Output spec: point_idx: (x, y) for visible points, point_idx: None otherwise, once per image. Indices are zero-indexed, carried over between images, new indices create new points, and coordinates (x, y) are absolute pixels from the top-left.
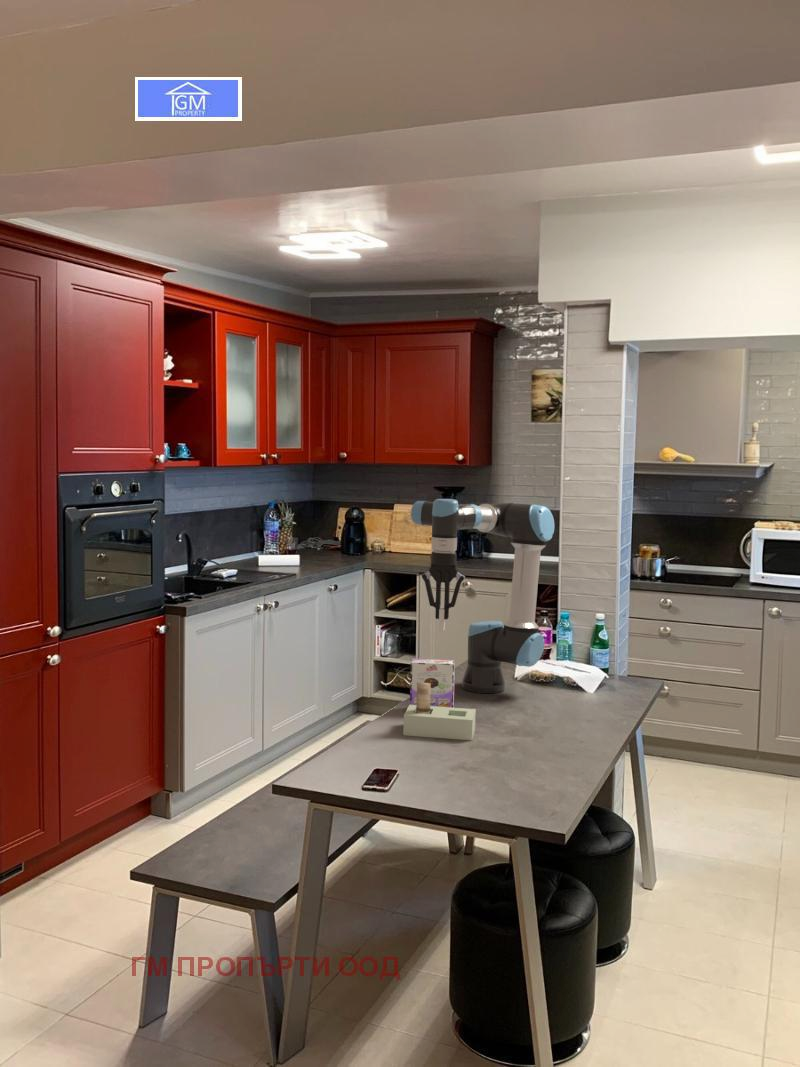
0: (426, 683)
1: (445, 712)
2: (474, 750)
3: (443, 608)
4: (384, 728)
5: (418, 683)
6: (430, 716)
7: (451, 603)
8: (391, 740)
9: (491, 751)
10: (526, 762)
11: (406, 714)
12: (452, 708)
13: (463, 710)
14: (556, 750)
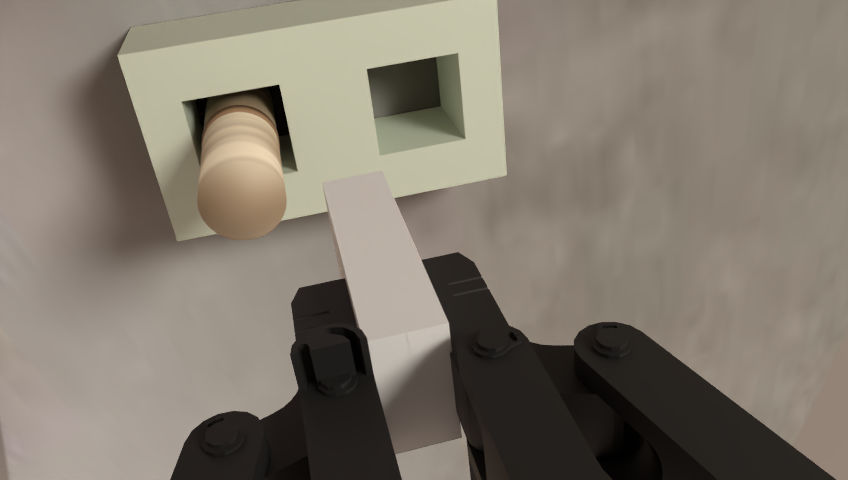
0: (249, 173)
1: (358, 115)
2: (505, 240)
3: (436, 394)
4: (51, 144)
5: (200, 194)
6: (307, 206)
7: (607, 476)
8: (165, 273)
9: (565, 224)
10: (680, 270)
11: (184, 226)
12: (374, 30)
13: (438, 43)
14: (789, 117)
